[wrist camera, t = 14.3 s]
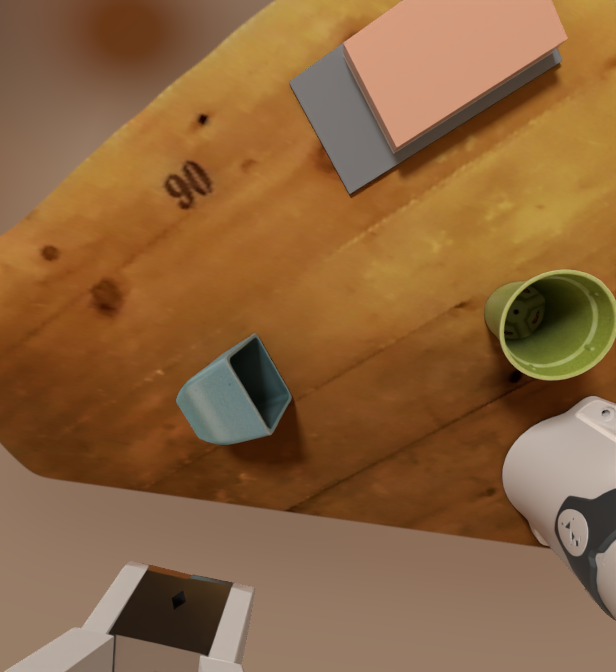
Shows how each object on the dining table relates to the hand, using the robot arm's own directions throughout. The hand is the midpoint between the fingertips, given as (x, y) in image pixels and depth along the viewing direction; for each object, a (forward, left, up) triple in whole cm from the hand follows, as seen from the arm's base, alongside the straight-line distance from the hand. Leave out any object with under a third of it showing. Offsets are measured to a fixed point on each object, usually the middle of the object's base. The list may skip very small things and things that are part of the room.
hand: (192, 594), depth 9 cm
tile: (-2, -22, -32) cm, 39 cm away
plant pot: (-21, -5, -34) cm, 41 cm away
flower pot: (+11, +12, -31) cm, 35 cm away
